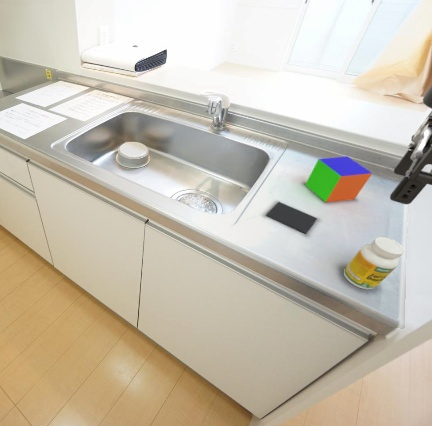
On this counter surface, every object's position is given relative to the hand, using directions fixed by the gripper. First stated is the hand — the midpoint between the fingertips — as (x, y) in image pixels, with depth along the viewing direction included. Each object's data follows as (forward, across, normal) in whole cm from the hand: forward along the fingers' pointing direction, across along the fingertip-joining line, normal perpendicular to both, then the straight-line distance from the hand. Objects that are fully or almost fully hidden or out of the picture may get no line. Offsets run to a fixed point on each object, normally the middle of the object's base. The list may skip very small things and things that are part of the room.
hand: (400, 186), depth 41 cm
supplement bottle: (+21, +2, -4) cm, 22 cm away
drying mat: (+21, +13, +11) cm, 27 cm away
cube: (+21, +30, +6) cm, 37 cm away
